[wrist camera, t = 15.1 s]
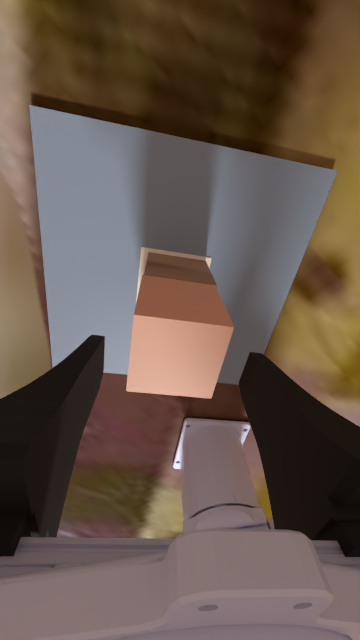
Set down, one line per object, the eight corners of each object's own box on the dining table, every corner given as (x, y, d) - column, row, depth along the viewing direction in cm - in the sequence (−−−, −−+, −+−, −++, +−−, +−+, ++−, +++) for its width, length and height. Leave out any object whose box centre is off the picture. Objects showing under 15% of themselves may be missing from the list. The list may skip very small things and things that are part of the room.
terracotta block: (200, 344, 18) (211, 398, 14) (135, 337, 18) (126, 391, 13) (215, 285, 16) (234, 327, 12) (142, 274, 15) (133, 314, 11)
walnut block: (194, 311, 23) (201, 344, 18) (142, 304, 22) (137, 337, 18) (205, 260, 20) (216, 285, 16) (148, 251, 20) (144, 274, 15)
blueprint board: (249, 381, 28) (251, 386, 27) (55, 363, 25) (52, 368, 25) (332, 170, 18) (338, 170, 18) (33, 107, 16) (28, 104, 15)
